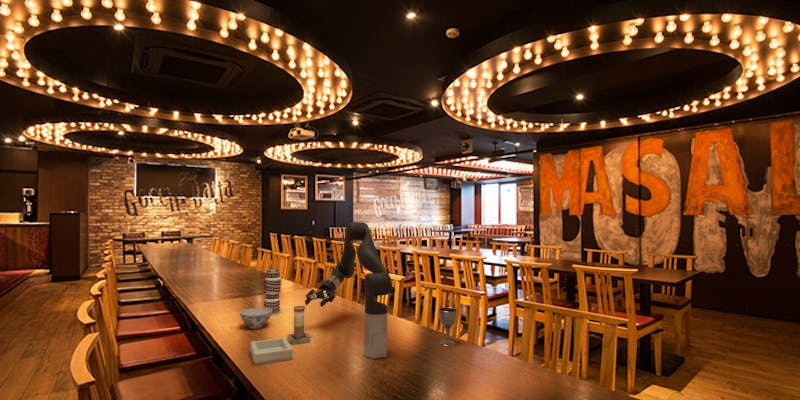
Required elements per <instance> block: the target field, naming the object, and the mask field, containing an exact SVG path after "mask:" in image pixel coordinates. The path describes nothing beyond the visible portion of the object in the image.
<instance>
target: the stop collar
mask: <svg viewBox="0 0 800 400" xmlns="http://www.w3.org/2000/svg"><path fill="white" fill-rule="evenodd" d="M286 339H287V341H288V343H289V344H290V345H293V346H295V345H302V344H303V345H304V344H308V343H310V342H311V335H310V334H309V333H308V332H305V331H304V338H297V339H294V333H288V335H286Z"/></svg>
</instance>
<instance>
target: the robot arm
mask: <svg viewBox="0 0 800 400" xmlns="http://www.w3.org/2000/svg"><path fill="white" fill-rule="evenodd" d="M352 241H362V242H360V244H359V245H358V247H357V250H356V249H355V246H354V245H353V243H352ZM343 244H344V245H343V250H342V254H341V258H340V261H339V262H338V263H336V265H335V268H334V270H333V272H332V273H331V275H329V276H328V277H327V278H326V279H325V280H324V281H323V282H322V283H321V284H320V286H319V287H318V289H317V290H315V289H313V288H312V289H311V290H309V292H307V294H306V295H305V296H306V297H305V298H306V299H305V300H304V303H305V305H306V306H308V305H309V304H310V302H312V301H316V300H319V299H321V301H320V302H319V303H320V304H319V305H320V307H324V306H325V305H326V304H328V303H332V302H333V301H334V299H335V298H336V297H337V293H336V291H337V290H338V288H339V287H340V286H341V284H342V283H343V282H344V280H345V279H350V278H352V277H353V276H354V274H355V264H354V263H355V259H356V257H357V259H358V261H359V263H360V265H361V266H362V267H363V268H364V269H366V270H367V271H369V273H366V274H365V276H364V282H363V283H364V286H363V287H364V288H363V289H364V339H363V340H364V345H363V346H364V348H363V349H364V351H363V353H364V356H365V357H367V358H370V359H373V360H374V359H375V360H376V359H382V358H387V357H388V350H387V349H388V306H387V304H386V303H383V302H380V301H377V300H375V297H377V296H378V297H379V296H387V295H389V294H391V292H392V291H393V283H392V279H391V276H390V274H389V272H388V270H387V269H386V267H385V265H384V264H383V262H382V259H381V258H380V257H381V256H380V255H379V252H378V249H377V247H376V245H375V243H374V241H373V238H372V234H371V231H370V227H369V225H368V223H366V222H361V221H350V222H348V223H347V225H346V228H345V234H344V241H343ZM356 254H357V256H356Z"/></svg>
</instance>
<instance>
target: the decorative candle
mask: <svg viewBox="0 0 800 400" xmlns="http://www.w3.org/2000/svg"><path fill="white" fill-rule="evenodd" d="M280 273H281V271H280V270H279V269H278V268H268V269H267V270H266V271H265V279H264V283H263V284H264V285H263V286H264V295H265V298H264V302H263V303H264V304H263V306H264V307H263V308H269V309H271V310H272V313H271V316H270V317H272V316H277V315H280V311H281V310H280V309H281V307H280V305H281V303H280V302H281V301H280V300H281V299H280V293H281V290H280V289H281V285H282V280H281V277H280V276H281V275H280Z"/></svg>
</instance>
